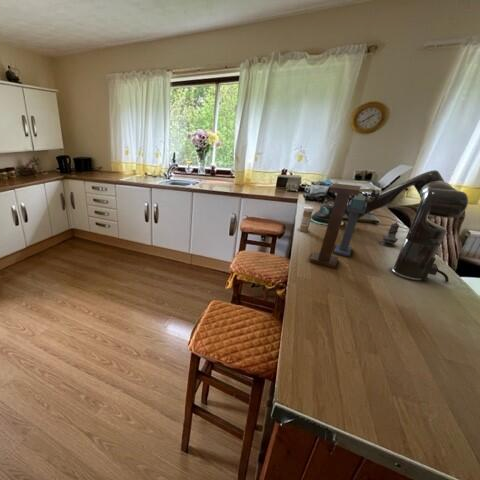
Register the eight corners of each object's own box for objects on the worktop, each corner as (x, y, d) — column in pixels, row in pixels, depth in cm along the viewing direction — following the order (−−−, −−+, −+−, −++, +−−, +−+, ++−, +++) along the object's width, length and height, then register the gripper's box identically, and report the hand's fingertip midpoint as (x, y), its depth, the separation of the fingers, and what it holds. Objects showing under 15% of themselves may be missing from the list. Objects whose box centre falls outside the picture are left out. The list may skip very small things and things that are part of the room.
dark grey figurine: (382, 245, 125) (391, 222, 120) (378, 241, 130) (386, 219, 125) (397, 247, 123) (407, 224, 118) (392, 243, 128) (401, 220, 123)
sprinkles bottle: (309, 231, 143) (315, 207, 137) (305, 232, 140) (311, 209, 135) (301, 228, 146) (307, 205, 141) (297, 230, 144) (302, 207, 139)
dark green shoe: (353, 224, 151) (321, 225, 150) (331, 229, 169) (302, 230, 168) (350, 199, 152) (318, 201, 151) (328, 207, 171) (299, 208, 170)
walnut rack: (337, 260, 110) (360, 186, 98) (334, 269, 103) (359, 190, 90) (313, 254, 115) (333, 183, 103) (309, 262, 108) (330, 186, 95)
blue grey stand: (350, 249, 120) (367, 201, 111) (349, 257, 113) (366, 206, 104) (336, 246, 124) (350, 199, 115) (333, 253, 116) (348, 204, 107)
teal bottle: (363, 201, 119) (366, 192, 118) (362, 210, 105) (365, 200, 104) (353, 199, 121) (355, 191, 120) (350, 208, 107) (353, 198, 106)
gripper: (342, 192, 134) (345, 180, 120) (376, 196, 126) (383, 184, 112) (338, 205, 134) (340, 195, 120) (372, 210, 126) (378, 200, 112)
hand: (361, 190), depth 116 cm, fingers open, 8 cm apart
